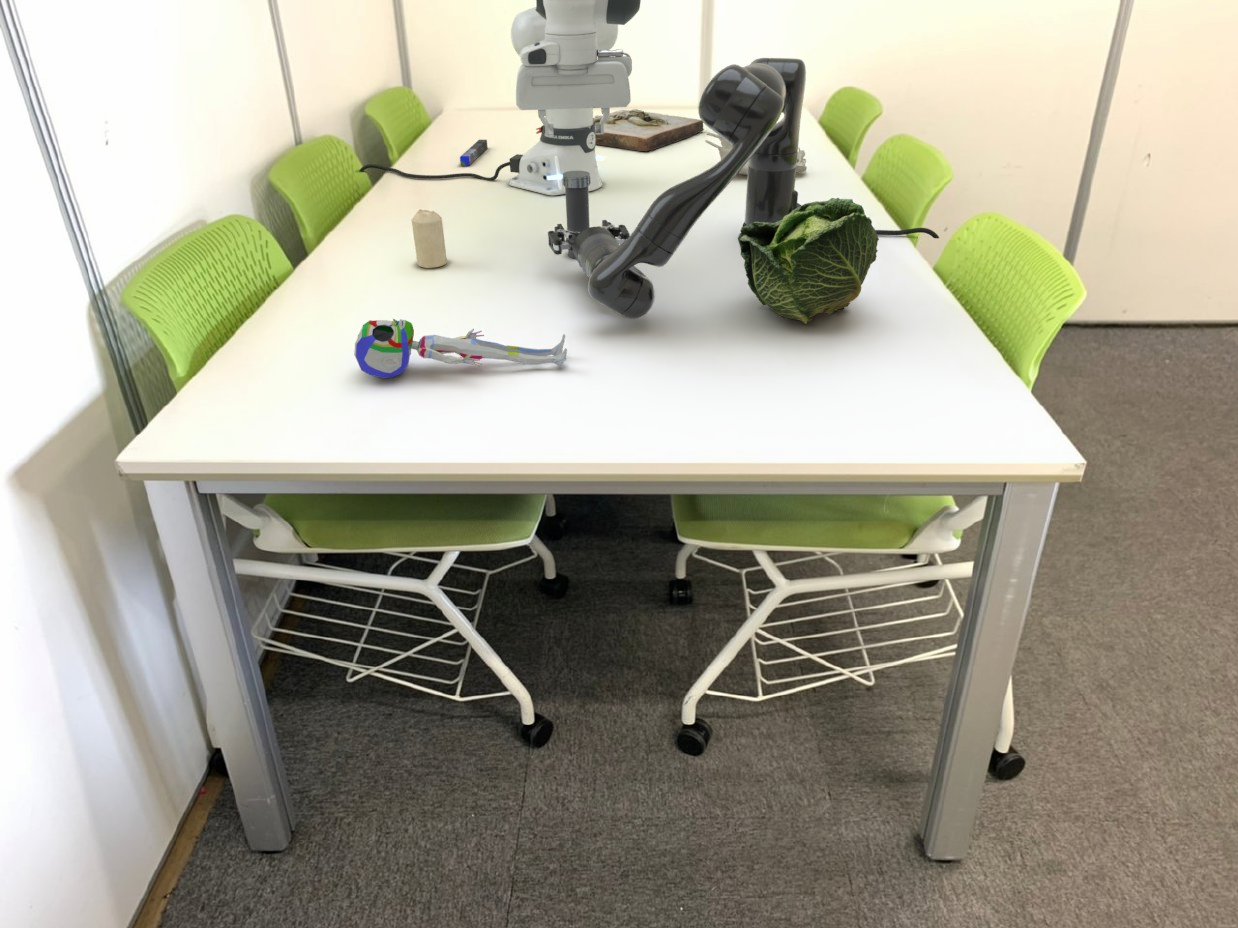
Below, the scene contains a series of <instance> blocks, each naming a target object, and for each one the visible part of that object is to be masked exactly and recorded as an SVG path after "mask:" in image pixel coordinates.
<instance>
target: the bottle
mask: <svg viewBox="0 0 1238 928" xmlns="http://www.w3.org/2000/svg"><path fill="white" fill-rule="evenodd" d="M565 193H566V194H565V214H566V230H569V229H574V230H578V231H582V230H583V231H584V230H585V229H587V228H590V202H589V201H590V198H589V192H588V187H584V188H567V187H565ZM574 236H575V235H573V237H574ZM567 254H568V257H569V258H571V259H573V260H574V259H575V260H577V259H576V257H575V254H574V252H571V251H570V250H569V249H567Z"/></svg>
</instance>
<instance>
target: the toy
mask: <svg viewBox="0 0 1238 928" xmlns="http://www.w3.org/2000/svg"><path fill="white" fill-rule="evenodd" d="M474 331H475V328H472V329H471V330H469V331H468V332H467V333H466V334H465V335H463V336H458V337H449V336H448V337H447V336H442V335H439V334H428V335H423V336H421V338H420V339H419V341H417V340H414V336H415V329H414V326H413V324H412V322H410V321H408V320H407V319H399V320H397V319H395V318H392V320H387V319H379V320H368V321H367V322H365V323H364V324H362V326H361V329H360V331H359V333H358V334H357V338H356V340H355V342H354V354H353V355H354V357H355V359H356V362H357V364H358V366H359V369H360V370H361V372H364V373H366V374H367V375H370V376H373V377H377V378H382V379H383V378H384V379H392V378H394V377H396V376H398V375H400V374H401V375H402V374H403V372H404V371H405V370H406V368H407V367H408V366H409V364H410V357H411V355H412V350H415V351H417V353H418V356H419V357H421V358H422V359H430V360H434V361H438V362H442V363H444V364H449V365H458V364H459V365H461V364H465V365H471V366H477V367H479V368H480V367H481V366H482V365H483V363H482V362H478V361H480V360H482V359H487V360H488V359H489V360H503V361H509V362H514V363H517V364H520V365H528V366H529V365H542V364H550V363H553V364H555V365H557V366H559V367H562V366H563V364H564V362H565V361H566V360H567V357H568V355H567V353H568V348H566V347H565V348H564V345H565V340H566V334H565V333H563V334H562V338H561V340H560V341H559V343H558V344H556V345H555V346H554V347H552V348H533V347H532V348H531V347H523V346H518V345H517V346H516V345H504V344H501V343H498V342H494V341H488V340H482V339H478V338H479V337H480V338H481V337H485V334H480V333H482V332H483V331H482V330H479V331H476V332H474ZM563 349H564V350H563ZM453 353H455V354H457V355H459V357H458V356H455V355H448V354H453ZM445 354H447V355H445Z"/></svg>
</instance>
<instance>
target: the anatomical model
mask: <svg viewBox="0 0 1238 928" xmlns="http://www.w3.org/2000/svg"><path fill="white" fill-rule="evenodd" d="M705 135H706V136H710V137H714V138H717V139H718V140H719V141H720V145H721V146H720V145H719V144H716V143H714V142H712V141H710V140H707V139H705V143H707V145H710V146H712V147H714V148H716V149H717V150H718V154H719V156H720V161H721V160H722V159H723V158H724V157H725V156H726V155H727V153H728V152H729V151H730V150H731V148H732V145H731V144H730V143H729V142H728V141H726V140H725V139H723V138H722V137H721V136H719V135H718V134H717V133H714V132H709V131H708V132H706V134H705ZM805 156H806V152H805V150H801V148H800V147H798V153H797V164H796V174H798V173H803V172H805V171H807V170H808V168H807V165H806V164H807V159H806V158H805ZM737 174H739V175H742V176H748V161H747V163H746V164H745V165H744V166H743V167H742V169H741V170H740V171H739V172H738V173H737Z"/></svg>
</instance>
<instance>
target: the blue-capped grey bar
mask: <svg viewBox="0 0 1238 928" xmlns="http://www.w3.org/2000/svg"><path fill="white" fill-rule="evenodd" d="M487 149H488V140H487V139H478V140H477V141H476V142H474V144H473V145H471V146H470V147H469V148H468V149H467V150H466V151H465V152H463V154H461V155H460V156H459V163H460V164H459V165H460V166H461V167H465V166H466V167H467V166H470V165H472V164H473V162H475V161H476V160H477V158H479V157H480V156H481V155H482V154H483V153H484V152H485V151H486V150H487Z"/></svg>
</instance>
